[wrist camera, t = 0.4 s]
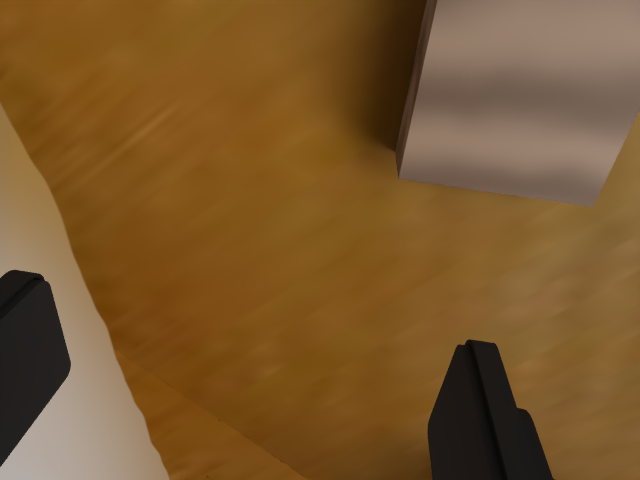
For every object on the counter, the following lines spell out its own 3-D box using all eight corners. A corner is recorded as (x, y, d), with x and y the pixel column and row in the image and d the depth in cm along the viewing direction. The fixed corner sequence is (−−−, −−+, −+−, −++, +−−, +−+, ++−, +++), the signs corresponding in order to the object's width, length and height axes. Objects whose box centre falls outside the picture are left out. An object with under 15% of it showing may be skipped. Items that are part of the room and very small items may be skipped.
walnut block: (435, -47, 30) (448, -50, 25) (644, -20, 30) (700, -18, 25) (395, 150, 38) (398, 179, 33) (562, 174, 37) (593, 206, 32)
